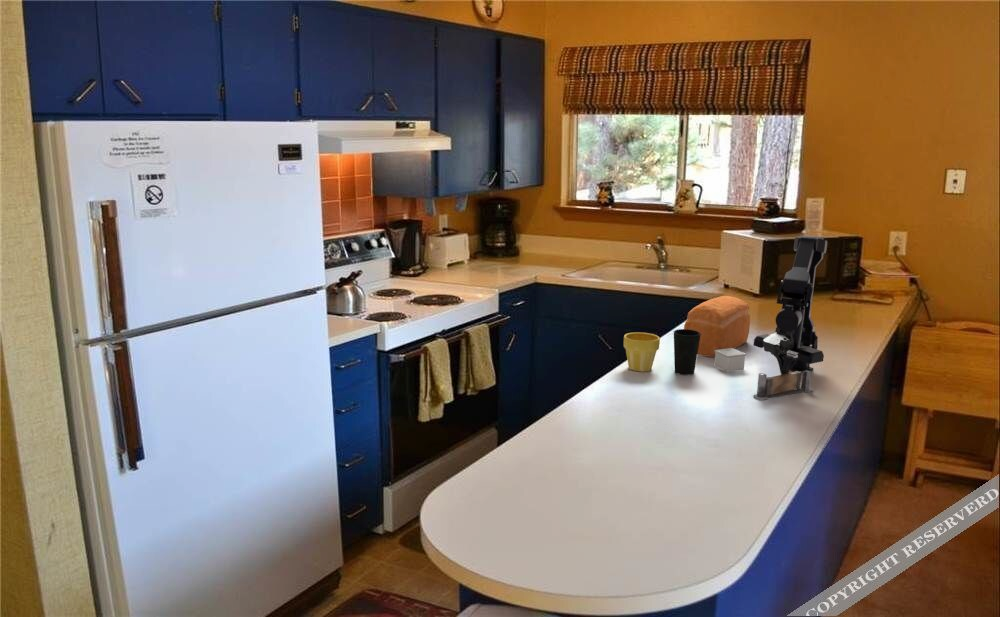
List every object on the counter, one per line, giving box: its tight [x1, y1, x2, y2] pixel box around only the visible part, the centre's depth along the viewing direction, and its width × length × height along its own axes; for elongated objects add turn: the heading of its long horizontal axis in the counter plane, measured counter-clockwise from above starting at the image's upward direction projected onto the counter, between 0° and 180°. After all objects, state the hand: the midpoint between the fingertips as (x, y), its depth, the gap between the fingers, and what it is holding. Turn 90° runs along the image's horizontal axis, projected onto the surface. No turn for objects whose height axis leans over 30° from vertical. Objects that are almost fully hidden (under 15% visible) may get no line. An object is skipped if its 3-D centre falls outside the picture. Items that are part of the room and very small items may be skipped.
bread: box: [683, 295, 751, 358], centre depth 264 cm, size 14×26×16 cm, turn 143°
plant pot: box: [623, 332, 661, 373], centre depth 240 cm, size 10×10×10 cm
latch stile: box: [798, 370, 814, 393], centre depth 224 cm, size 3×3×6 cm
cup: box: [673, 328, 701, 376], centre depth 237 cm, size 8×8×12 cm
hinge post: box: [752, 372, 769, 401], centre depth 217 cm, size 4×4×6 cm
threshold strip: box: [767, 389, 803, 399], centre depth 221 cm, size 12×2×1 cm, turn 115°
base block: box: [714, 348, 747, 373], centre depth 243 cm, size 6×6×5 cm
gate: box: [765, 371, 802, 396], centre depth 221 cm, size 13×2×5 cm, turn 121°
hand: (783, 378), depth 224 cm, fingers closed
